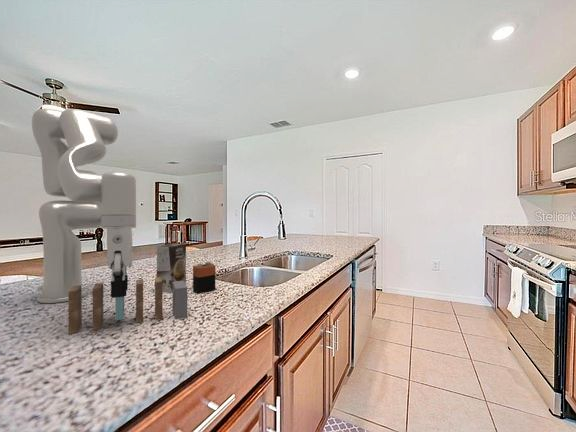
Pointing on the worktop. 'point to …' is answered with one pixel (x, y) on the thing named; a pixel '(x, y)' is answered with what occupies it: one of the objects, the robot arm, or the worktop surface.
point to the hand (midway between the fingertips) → (119, 292)
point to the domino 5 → (158, 299)
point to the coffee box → (171, 264)
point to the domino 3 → (119, 307)
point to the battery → (204, 277)
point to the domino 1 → (75, 309)
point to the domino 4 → (139, 301)
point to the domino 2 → (97, 306)
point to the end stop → (179, 299)
